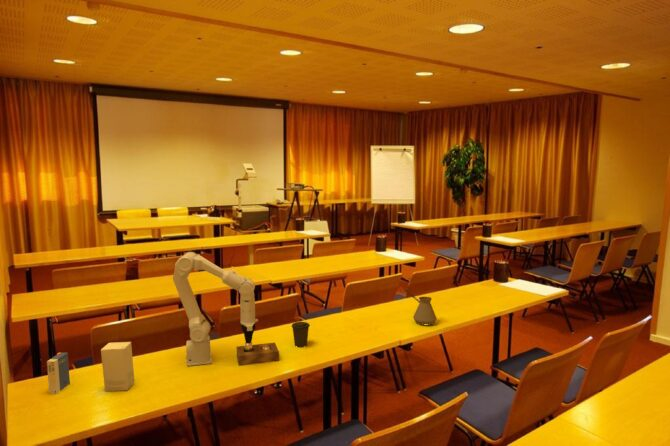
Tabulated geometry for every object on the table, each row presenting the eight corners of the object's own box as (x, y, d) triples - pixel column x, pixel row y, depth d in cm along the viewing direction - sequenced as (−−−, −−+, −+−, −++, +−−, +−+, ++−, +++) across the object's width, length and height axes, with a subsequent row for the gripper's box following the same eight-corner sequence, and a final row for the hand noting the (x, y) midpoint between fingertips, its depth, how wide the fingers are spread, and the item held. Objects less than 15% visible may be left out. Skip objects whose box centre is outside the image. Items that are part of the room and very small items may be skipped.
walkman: (62, 383, 164) (60, 351, 162) (70, 383, 164) (67, 351, 162) (48, 394, 156) (45, 360, 155) (56, 394, 156) (54, 360, 155)
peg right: (262, 358, 184) (262, 349, 184) (261, 356, 187) (261, 346, 187) (270, 358, 185) (270, 348, 185) (269, 355, 188) (269, 345, 188)
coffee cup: (307, 349, 195) (307, 326, 194) (289, 347, 196) (288, 325, 195) (312, 342, 203) (311, 320, 201) (294, 340, 204) (294, 319, 203)
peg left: (245, 354, 182) (245, 344, 182) (244, 351, 185) (244, 341, 185) (252, 353, 183) (252, 343, 182) (252, 350, 186) (251, 341, 185)
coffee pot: (441, 323, 227) (442, 294, 225) (425, 328, 220) (426, 298, 218) (410, 313, 244) (410, 286, 242) (394, 317, 237) (395, 289, 235)
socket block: (238, 365, 178) (238, 356, 178) (236, 355, 188) (236, 346, 187) (279, 360, 183) (278, 351, 182) (275, 351, 192) (274, 342, 192)
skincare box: (135, 382, 164) (132, 341, 162) (127, 391, 158) (125, 348, 156) (111, 383, 164) (109, 341, 162) (102, 392, 157) (100, 348, 156)
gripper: (259, 314, 176) (260, 347, 178) (255, 303, 190) (256, 335, 192) (241, 315, 174) (242, 349, 176) (238, 305, 188) (239, 336, 190)
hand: (248, 342), depth 183 cm, fingers closed
